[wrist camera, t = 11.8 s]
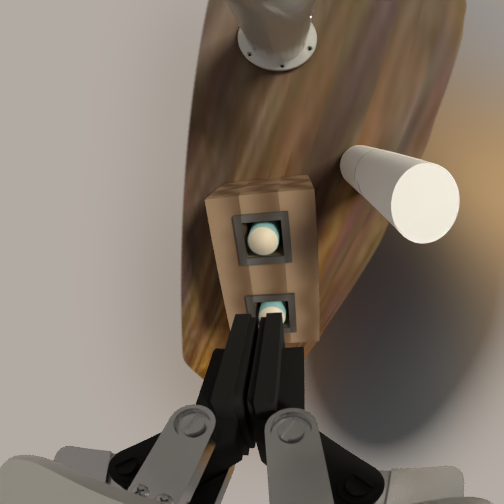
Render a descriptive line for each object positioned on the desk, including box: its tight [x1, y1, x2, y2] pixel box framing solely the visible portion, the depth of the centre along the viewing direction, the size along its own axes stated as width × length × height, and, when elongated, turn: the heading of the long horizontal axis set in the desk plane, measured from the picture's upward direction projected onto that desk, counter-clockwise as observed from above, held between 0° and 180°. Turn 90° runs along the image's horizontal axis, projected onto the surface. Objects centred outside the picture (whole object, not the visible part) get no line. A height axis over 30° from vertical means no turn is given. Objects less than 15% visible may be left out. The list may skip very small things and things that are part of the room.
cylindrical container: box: [340, 145, 460, 243], centre depth 32 cm, size 7×7×25 cm
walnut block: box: [205, 175, 319, 343], centre depth 45 cm, size 14×24×12 cm, turn 7°
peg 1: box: [248, 220, 281, 255], centre depth 42 cm, size 4×4×12 cm
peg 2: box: [258, 301, 286, 323], centre depth 47 cm, size 4×4×12 cm
